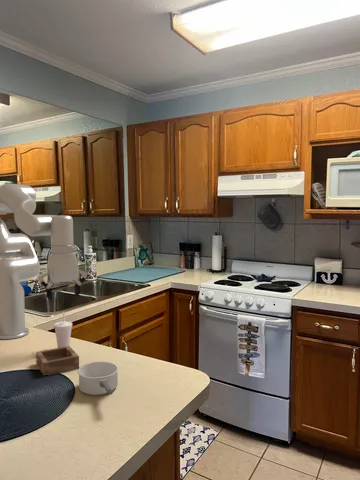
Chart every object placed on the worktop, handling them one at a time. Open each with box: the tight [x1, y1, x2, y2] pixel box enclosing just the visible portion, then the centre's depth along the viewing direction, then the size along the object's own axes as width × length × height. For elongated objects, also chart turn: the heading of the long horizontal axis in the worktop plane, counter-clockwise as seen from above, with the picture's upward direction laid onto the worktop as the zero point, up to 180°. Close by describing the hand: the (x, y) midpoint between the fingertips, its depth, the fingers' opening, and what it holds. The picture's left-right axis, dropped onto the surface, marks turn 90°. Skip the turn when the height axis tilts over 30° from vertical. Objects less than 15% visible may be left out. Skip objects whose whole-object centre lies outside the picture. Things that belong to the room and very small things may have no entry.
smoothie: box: [53, 311, 73, 348], centre depth 131 cm, size 6×6×14 cm
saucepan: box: [77, 360, 120, 396], centre depth 99 cm, size 12×20×6 cm, turn 24°
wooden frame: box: [35, 345, 80, 376], centre depth 117 cm, size 11×11×4 cm
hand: (63, 297), depth 129 cm, fingers open, 9 cm apart
